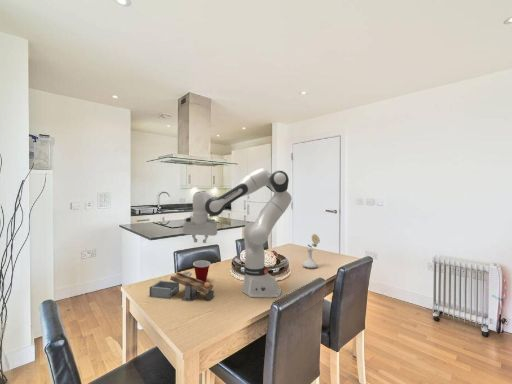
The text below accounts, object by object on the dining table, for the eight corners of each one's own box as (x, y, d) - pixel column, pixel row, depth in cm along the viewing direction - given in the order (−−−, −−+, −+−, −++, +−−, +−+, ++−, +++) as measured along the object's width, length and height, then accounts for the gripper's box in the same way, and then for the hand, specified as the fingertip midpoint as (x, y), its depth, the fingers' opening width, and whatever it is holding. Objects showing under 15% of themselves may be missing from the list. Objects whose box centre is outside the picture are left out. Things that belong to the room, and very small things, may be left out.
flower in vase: (306, 270, 185) (306, 235, 184) (299, 265, 196) (300, 232, 195) (322, 268, 188) (323, 235, 187) (315, 264, 199) (315, 232, 199)
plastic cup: (197, 286, 152) (197, 266, 152) (190, 281, 161) (190, 262, 161) (213, 282, 159) (213, 263, 158) (205, 277, 167) (205, 259, 167)
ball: (210, 287, 138) (211, 282, 138) (208, 290, 135) (209, 284, 135) (204, 286, 139) (205, 280, 139) (202, 288, 136) (203, 282, 135)
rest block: (213, 296, 139) (213, 290, 139) (210, 300, 134) (210, 294, 134) (209, 296, 139) (209, 290, 139) (206, 300, 134) (206, 294, 134)
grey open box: (178, 290, 145) (179, 282, 145) (169, 298, 136) (169, 289, 135) (159, 289, 148) (159, 280, 148) (149, 296, 138) (149, 287, 138)
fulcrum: (200, 292, 143) (200, 279, 143) (192, 301, 133) (192, 287, 132) (190, 291, 145) (190, 278, 144) (181, 300, 134) (181, 286, 134)
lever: (216, 284, 147) (217, 280, 147) (207, 294, 133) (208, 289, 133) (182, 271, 151) (183, 267, 151) (169, 280, 137) (170, 275, 137)
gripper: (219, 218, 150) (218, 242, 150) (186, 217, 154) (186, 240, 154) (215, 220, 143) (215, 244, 144) (181, 218, 147) (181, 242, 148)
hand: (200, 242), depth 149 cm, fingers open, 4 cm apart
